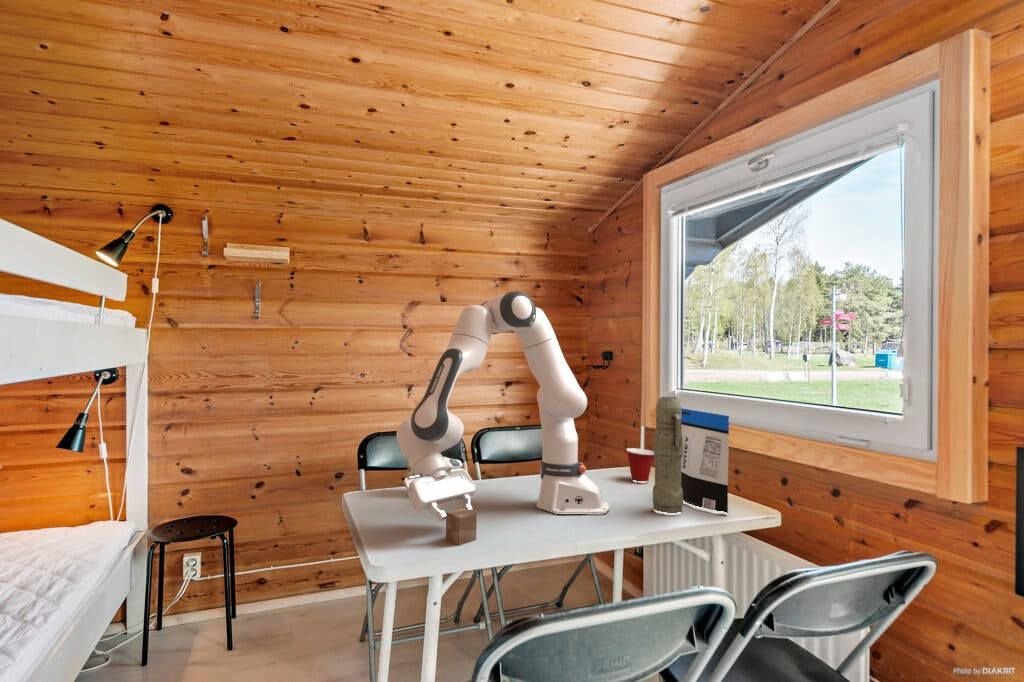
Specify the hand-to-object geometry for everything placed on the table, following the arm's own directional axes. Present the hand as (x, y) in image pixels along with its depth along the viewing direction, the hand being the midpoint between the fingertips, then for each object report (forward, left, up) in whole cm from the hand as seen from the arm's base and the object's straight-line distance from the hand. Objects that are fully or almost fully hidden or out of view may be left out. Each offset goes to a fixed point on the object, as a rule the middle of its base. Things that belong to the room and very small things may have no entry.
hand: (456, 515), depth 152 cm
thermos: (-58, -35, -6) cm, 68 cm away
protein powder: (-70, -44, -6) cm, 83 cm away
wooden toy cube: (-1, +1, -6) cm, 6 cm away
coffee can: (+21, -43, -6) cm, 48 cm away
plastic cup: (-54, -74, -6) cm, 92 cm away
